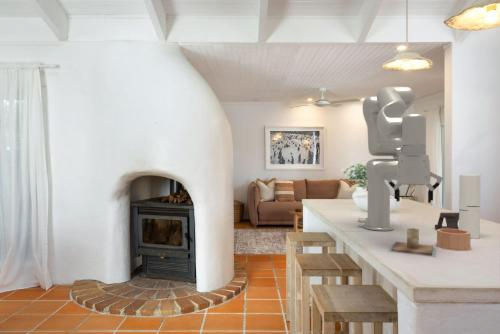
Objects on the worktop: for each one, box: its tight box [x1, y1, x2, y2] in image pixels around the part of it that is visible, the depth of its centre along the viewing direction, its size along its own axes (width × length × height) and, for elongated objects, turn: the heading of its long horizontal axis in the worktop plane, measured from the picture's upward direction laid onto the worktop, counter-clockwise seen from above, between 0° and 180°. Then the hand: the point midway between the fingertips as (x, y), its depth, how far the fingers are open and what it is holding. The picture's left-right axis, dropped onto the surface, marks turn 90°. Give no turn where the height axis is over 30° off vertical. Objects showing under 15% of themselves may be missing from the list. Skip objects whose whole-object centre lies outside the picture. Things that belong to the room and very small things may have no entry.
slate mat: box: [387, 242, 438, 258], centre depth 119 cm, size 14×14×1 cm
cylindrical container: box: [458, 174, 481, 239], centre depth 142 cm, size 7×7×25 cm
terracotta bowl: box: [436, 229, 471, 252], centre depth 122 cm, size 10×10×6 cm
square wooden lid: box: [391, 228, 434, 257], centre depth 119 cm, size 12×12×7 cm
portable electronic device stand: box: [434, 212, 459, 231], centre depth 154 cm, size 9×8×8 cm
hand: (413, 201), depth 118 cm, fingers open, 9 cm apart
